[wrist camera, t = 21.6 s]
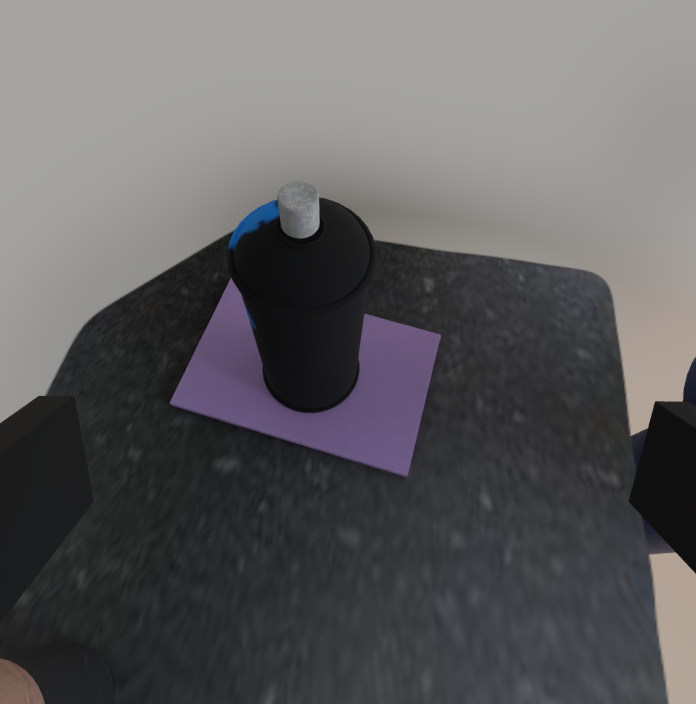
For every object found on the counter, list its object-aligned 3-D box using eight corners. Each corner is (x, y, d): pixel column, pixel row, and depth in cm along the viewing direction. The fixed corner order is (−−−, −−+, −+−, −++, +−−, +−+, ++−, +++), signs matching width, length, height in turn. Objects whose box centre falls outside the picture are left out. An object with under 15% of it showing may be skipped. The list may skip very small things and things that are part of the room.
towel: (439, 337, 43) (440, 334, 42) (406, 477, 37) (407, 476, 36) (232, 280, 44) (231, 276, 44) (171, 405, 39) (169, 403, 38)
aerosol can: (376, 351, 41) (413, 173, 23) (329, 431, 38) (332, 297, 20) (295, 311, 42) (271, 113, 24) (243, 385, 39) (172, 220, 21)
